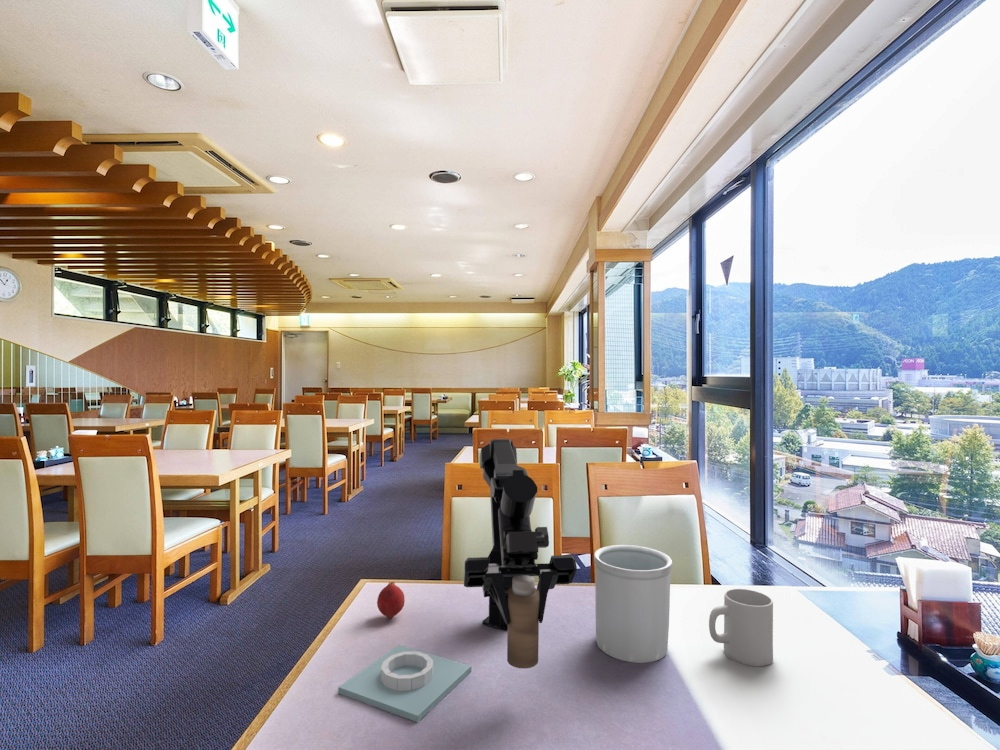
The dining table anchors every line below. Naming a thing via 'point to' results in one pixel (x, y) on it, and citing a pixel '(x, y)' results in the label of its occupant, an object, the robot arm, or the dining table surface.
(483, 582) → the robot arm
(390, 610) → the onion
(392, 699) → the board
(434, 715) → the dining table surface
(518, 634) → the pepper mill
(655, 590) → the utensil holder
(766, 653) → the mug
